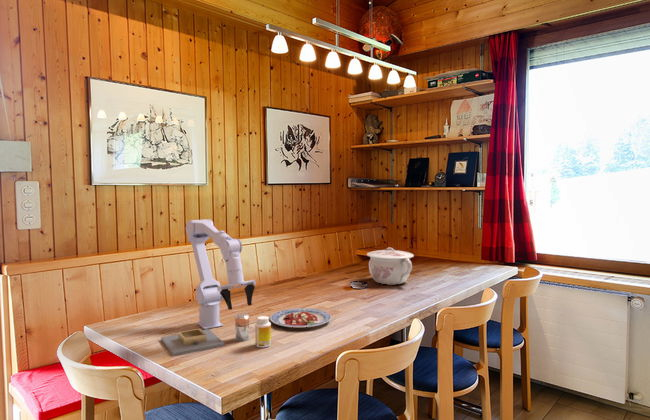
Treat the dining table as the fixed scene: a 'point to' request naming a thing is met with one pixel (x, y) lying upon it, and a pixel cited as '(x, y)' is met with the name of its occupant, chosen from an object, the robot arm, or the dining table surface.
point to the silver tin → (242, 327)
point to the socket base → (179, 348)
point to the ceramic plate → (300, 317)
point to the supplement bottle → (263, 332)
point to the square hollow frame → (192, 337)
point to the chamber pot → (390, 266)
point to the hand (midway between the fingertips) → (240, 307)
